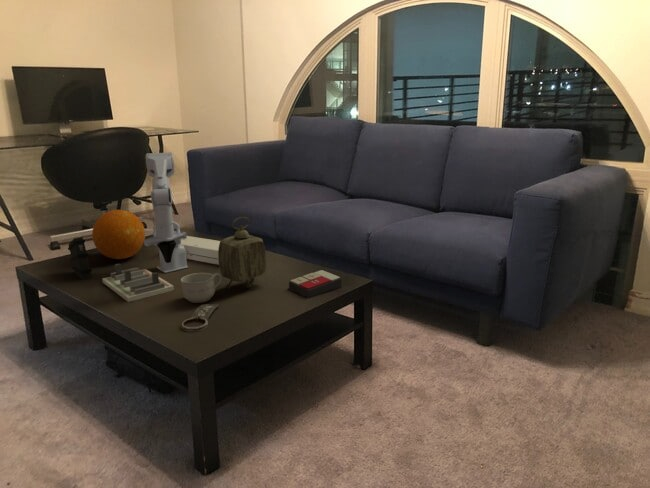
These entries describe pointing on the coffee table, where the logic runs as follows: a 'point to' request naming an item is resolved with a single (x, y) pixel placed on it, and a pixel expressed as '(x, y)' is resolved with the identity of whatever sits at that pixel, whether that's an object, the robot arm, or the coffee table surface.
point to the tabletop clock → (241, 256)
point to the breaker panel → (136, 285)
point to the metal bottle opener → (200, 317)
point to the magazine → (80, 258)
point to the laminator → (201, 249)
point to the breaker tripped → (155, 278)
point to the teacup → (199, 286)
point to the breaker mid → (127, 275)
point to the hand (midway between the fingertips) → (168, 262)
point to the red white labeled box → (315, 283)
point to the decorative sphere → (118, 234)
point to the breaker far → (118, 269)
